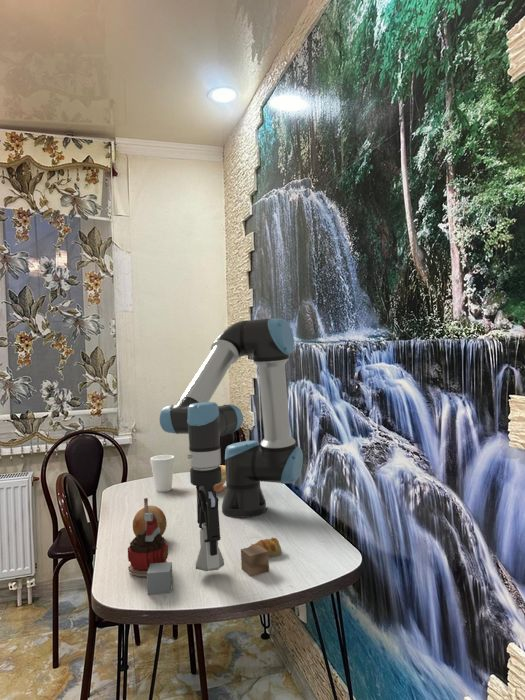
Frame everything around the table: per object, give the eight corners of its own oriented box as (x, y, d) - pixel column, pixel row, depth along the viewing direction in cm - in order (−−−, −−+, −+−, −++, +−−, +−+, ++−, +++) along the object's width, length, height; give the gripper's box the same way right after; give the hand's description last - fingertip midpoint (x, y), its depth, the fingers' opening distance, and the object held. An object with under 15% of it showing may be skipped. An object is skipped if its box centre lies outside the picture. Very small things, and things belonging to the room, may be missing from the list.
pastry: (250, 563, 122) (250, 548, 122) (241, 554, 128) (240, 539, 128) (283, 556, 126) (283, 541, 126) (273, 547, 132) (272, 533, 132)
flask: (220, 573, 112) (218, 530, 112) (190, 571, 113) (188, 529, 113) (228, 559, 119) (226, 519, 119) (200, 558, 120) (198, 518, 120)
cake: (138, 560, 126) (135, 492, 126) (172, 561, 125) (170, 492, 125) (122, 580, 115) (119, 505, 115) (159, 580, 114) (156, 504, 114)
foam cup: (172, 492, 189) (171, 459, 189) (149, 493, 189) (148, 460, 190) (177, 485, 199) (176, 454, 199) (155, 486, 199) (153, 455, 199)
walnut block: (259, 564, 121) (258, 544, 121) (269, 571, 116) (268, 551, 117) (241, 569, 118) (240, 549, 118) (250, 577, 114) (250, 556, 114)
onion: (155, 549, 133) (154, 513, 133) (125, 545, 137) (124, 510, 137) (173, 536, 142) (172, 502, 142) (145, 533, 146) (144, 500, 146)
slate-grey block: (172, 583, 113) (171, 562, 113) (170, 593, 108) (169, 571, 108) (151, 585, 112) (150, 563, 112) (147, 595, 107) (146, 573, 107)
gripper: (183, 460, 124) (187, 548, 124) (198, 478, 106) (203, 582, 106) (211, 456, 127) (215, 543, 127) (231, 473, 108) (235, 575, 108)
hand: (209, 560), depth 116 cm, fingers closed on flask, 7 cm apart
